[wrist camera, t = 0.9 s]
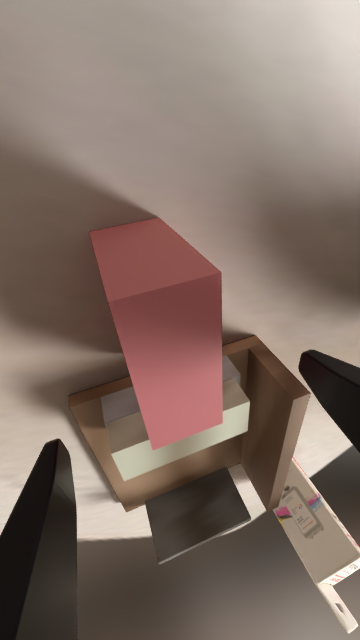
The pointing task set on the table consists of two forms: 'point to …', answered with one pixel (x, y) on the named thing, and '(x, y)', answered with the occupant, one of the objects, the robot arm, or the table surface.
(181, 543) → the shelf
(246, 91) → the table surface
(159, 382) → the tall dusty pink block
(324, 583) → the ink cartridge box
